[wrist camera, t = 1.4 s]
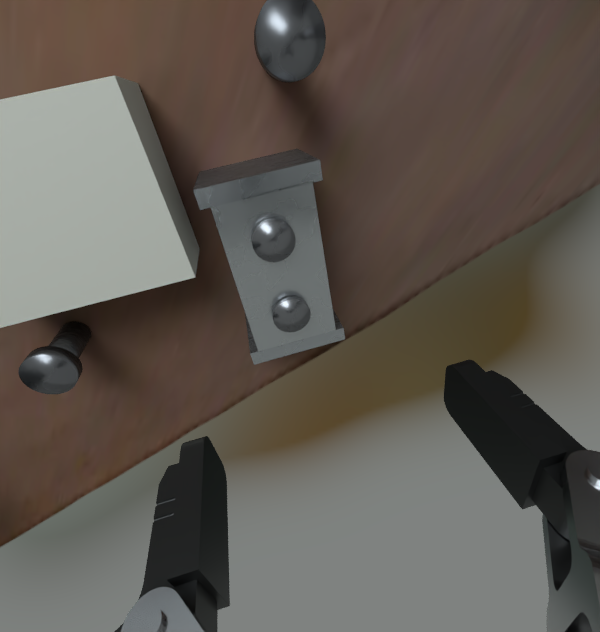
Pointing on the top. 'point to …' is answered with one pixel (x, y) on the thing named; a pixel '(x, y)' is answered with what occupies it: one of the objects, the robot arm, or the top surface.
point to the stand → (85, 201)
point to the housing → (274, 250)
